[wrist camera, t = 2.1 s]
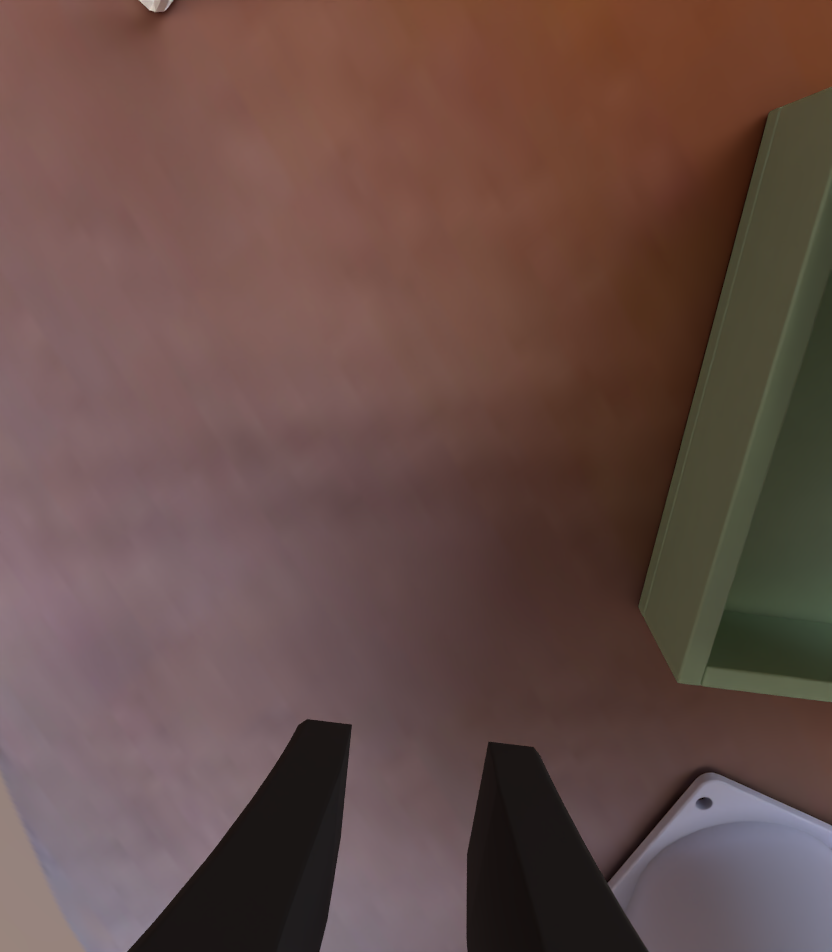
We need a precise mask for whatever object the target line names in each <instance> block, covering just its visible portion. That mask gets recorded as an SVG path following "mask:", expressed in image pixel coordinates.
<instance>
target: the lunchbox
mask: <svg viewBox="0 0 832 952" xmlns="http://www.w3.org/2000/svg"><path fill="white" fill-rule="evenodd" d="M638 608H639V610H640V612H641V614H642V616H643V617H644V619H645V621H646V623H647V625H648V627H649V629H650V631H651V633H652V635H653V637H654V639H655V641H656V642H657V644H658V646H659V648H660V650H661V652H662V654H663V656H664V658H665V660H666V662H667V664H668V666H669V667H670V669H671V671H672V673H673V675H674V677H675V679H676V681H677V682H678V683H682V684H690V685H700V684H701V685H702V686H705V687H713V688H721V689H729V690H737V691H745V692H753V693H761V694H769V695H778V696H786V697H794V698H802V699H810V700H818V701H826V702H832V87H830V88H828V89H825V90H822V91H820V92H817V93H815V94H812V95H810V96H807V97H805V98H802V99H800V100H797V101H795V102H792V103H790V104H787V105H785V106H783V107H780V108H777V109H775V110H772V111H770V112H769V114H768V118H767V122H766V126H765V129H764V133H763V137H762V141H761V145H760V148H759V152H758V156H757V160H756V163H755V167H754V171H753V175H752V179H751V182H750V186H749V190H748V194H747V198H746V201H745V205H744V209H743V213H742V216H741V220H740V224H739V228H738V232H737V235H736V239H735V243H734V247H733V250H732V254H731V258H730V262H729V266H728V269H727V273H726V277H725V281H724V284H723V288H722V292H721V296H720V300H719V303H718V307H717V311H716V315H715V318H714V322H713V326H712V330H711V334H710V337H709V341H708V345H707V349H706V353H705V356H704V360H703V364H702V368H701V371H700V375H699V379H698V383H697V387H696V390H695V394H694V398H693V402H692V405H691V409H690V413H689V417H688V421H687V424H686V428H685V432H684V436H683V439H682V443H681V447H680V451H679V455H678V458H677V462H676V466H675V470H674V474H673V477H672V481H671V485H670V489H669V492H668V496H667V500H666V504H665V508H664V511H663V515H662V519H661V523H660V526H659V530H658V534H657V538H656V542H655V545H654V549H653V553H652V557H651V560H650V564H649V568H648V572H647V576H646V579H645V583H644V587H643V591H642V594H641V598H640V602H639V606H638Z"/></svg>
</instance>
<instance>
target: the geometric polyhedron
mask: <svg viewBox="0 0 832 952" xmlns="http://www.w3.org/2000/svg"><path fill="white" fill-rule="evenodd" d="M139 1H140V2H141V3H142V4H143V5H145V6H146V7H147V8H148V9H149V10H151V11H154V12H164V11H165V10H166V9H167V8H168V7H169V6H170V4H171V3H172V2H173V0H139Z"/></svg>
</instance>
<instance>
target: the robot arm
mask: <svg viewBox="0 0 832 952" xmlns="http://www.w3.org/2000/svg"><path fill="white" fill-rule="evenodd" d="M351 728H352V725H350V724H342V723H334V722H326V721H318V720H310V719H307V720H305V721H304V722H302V723H301V724H299V725H298V727H297V729H296V731H295V733H294V734H293V736H292V738H291V740H290V742H289V743H288V745H287V747H286V748H285V750H284V752H283V753H282V755H281V756H280V758H279V760H278V761H277V763H276V764H275V766H274V767H273V769H272V770H271V772H270V773H269V775H268V776H267V778H266V779H265V781H264V782H263V784H262V785H261V787H260V788H259V789H258V791H257V792H256V794H255V795H254V797H253V798H252V800H251V801H250V802H249V804H248V805H247V806H246V808H245V809H244V810H243V812H242V813H241V814H240V816H239V817H238V818H237V820H236V821H235V822H234V824H233V825H232V826H231V828H230V829H229V830H228V832H227V833H226V834H225V836H224V837H223V838H222V840H221V841H220V842H219V844H218V845H217V846H216V848H215V849H214V850H213V851H212V853H211V854H210V855H209V857H208V858H207V859H206V860H205V862H204V863H203V864H202V865H201V866H200V867H199V869H198V870H197V871H196V872H195V873H194V875H193V876H192V877H191V878H190V879H189V881H188V882H187V883H186V884H185V885H184V887H183V888H182V889H181V890H180V891H179V893H178V894H177V895H176V896H175V897H174V899H173V900H172V901H171V902H170V903H169V905H168V906H167V907H166V908H165V909H164V911H163V912H162V913H161V914H160V915H159V917H158V918H157V919H156V920H155V921H154V922H153V924H152V925H151V926H150V927H149V928H148V929H147V930H146V931H145V933H144V934H143V935H142V936H141V937H140V938H139V939H138V940H137V941H136V943H135V944H134V945H133V946H132V947H131V948H130V949H129V950H128V951H127V952H319V951H320V947H321V943H322V939H323V935H324V931H325V927H326V923H327V918H328V912H329V906H330V900H331V894H332V888H333V882H334V875H335V869H336V863H337V857H338V851H339V844H340V838H341V828H342V818H343V808H344V798H345V788H346V778H347V768H348V758H349V748H350V738H351ZM703 797H706V798H704V799H702V800H698V799H700V798H703ZM467 950H468V952H832V825H830V824H827V823H825V822H823V821H821V820H819V819H816V818H814V817H812V816H810V815H808V814H805V813H803V812H801V811H799V810H797V809H794V808H792V807H790V806H788V805H785V804H783V803H781V802H779V801H777V800H774V799H772V798H770V797H768V796H766V795H763V794H761V793H759V792H757V791H755V790H752V789H750V788H748V787H746V786H744V785H741V784H739V783H737V782H735V781H733V780H730V779H728V778H726V777H724V776H722V775H719V774H716V773H704V774H702V775H700V776H699V777H698V778H696V779H695V781H694V782H693V783H692V784H691V785H690V787H689V788H688V789H687V790H686V791H685V792H684V794H683V795H682V796H681V797H680V798H679V799H678V801H677V802H676V803H675V804H674V805H673V807H672V808H671V809H670V810H669V811H668V812H667V814H666V815H665V816H664V817H663V818H662V820H661V821H660V822H659V823H658V824H657V825H656V827H655V828H654V829H653V830H652V831H651V832H650V834H649V835H648V836H647V837H646V838H645V840H644V841H643V842H642V843H641V844H640V845H639V847H638V848H637V849H636V850H635V851H634V853H633V854H632V855H631V856H630V857H629V858H628V860H627V861H626V862H625V863H624V864H623V865H622V867H621V868H620V869H619V870H618V871H617V873H616V874H615V875H614V876H613V877H612V878H611V880H610V881H609V882H608V883H607V882H606V880H605V878H604V877H603V875H602V873H601V871H600V870H599V868H598V866H597V865H596V863H595V861H594V859H593V858H592V856H591V854H590V852H589V850H588V849H587V847H586V845H585V843H584V841H583V840H582V838H581V836H580V834H579V832H578V830H577V828H576V826H575V825H574V823H573V821H572V819H571V817H570V815H569V813H568V811H567V809H566V807H565V806H564V804H563V802H562V800H561V798H560V796H559V794H558V792H557V790H556V788H555V786H554V784H553V782H552V780H551V778H550V775H549V773H548V771H547V769H546V767H545V765H544V763H543V761H542V759H541V756H540V755H539V753H538V752H537V751H536V750H535V748H534V747H528V746H520V745H512V744H504V743H496V742H488V748H487V753H486V758H485V763H484V769H483V774H482V779H481V784H480V790H479V795H478V800H477V805H476V811H475V816H474V821H473V826H472V832H471V837H470V842H469V847H468V853H467Z"/></svg>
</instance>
